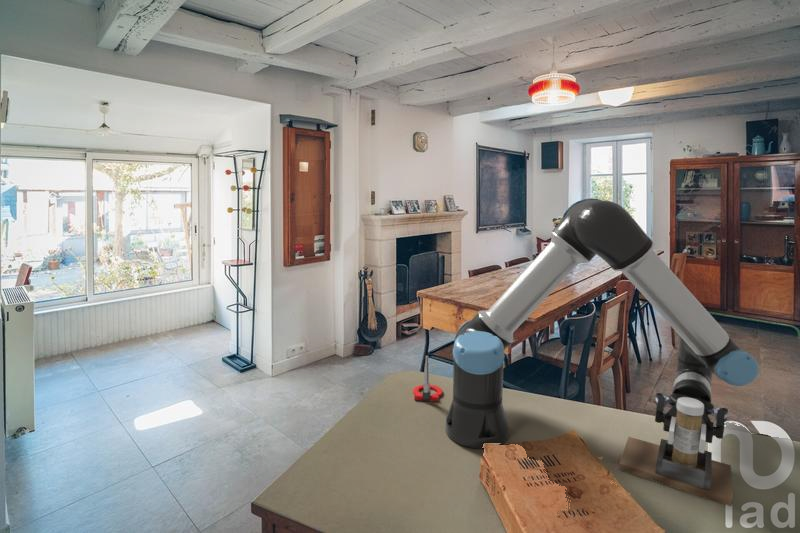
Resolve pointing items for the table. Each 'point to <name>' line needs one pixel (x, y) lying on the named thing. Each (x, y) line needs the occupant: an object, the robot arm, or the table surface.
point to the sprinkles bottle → (687, 431)
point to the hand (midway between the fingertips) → (686, 441)
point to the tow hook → (427, 388)
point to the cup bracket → (678, 470)
